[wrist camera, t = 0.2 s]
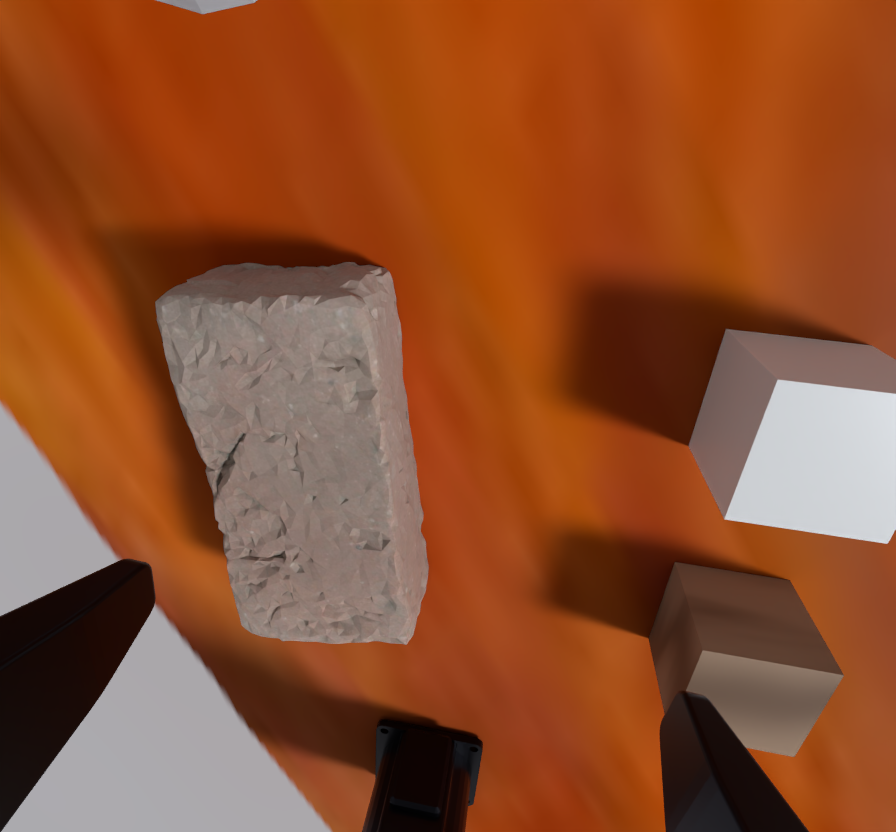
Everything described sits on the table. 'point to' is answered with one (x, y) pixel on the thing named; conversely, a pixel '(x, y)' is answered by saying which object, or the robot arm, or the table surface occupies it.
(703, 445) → the white cube
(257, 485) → the brick
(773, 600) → the walnut cube
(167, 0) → the french press
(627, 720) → the table surface
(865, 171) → the table surface
